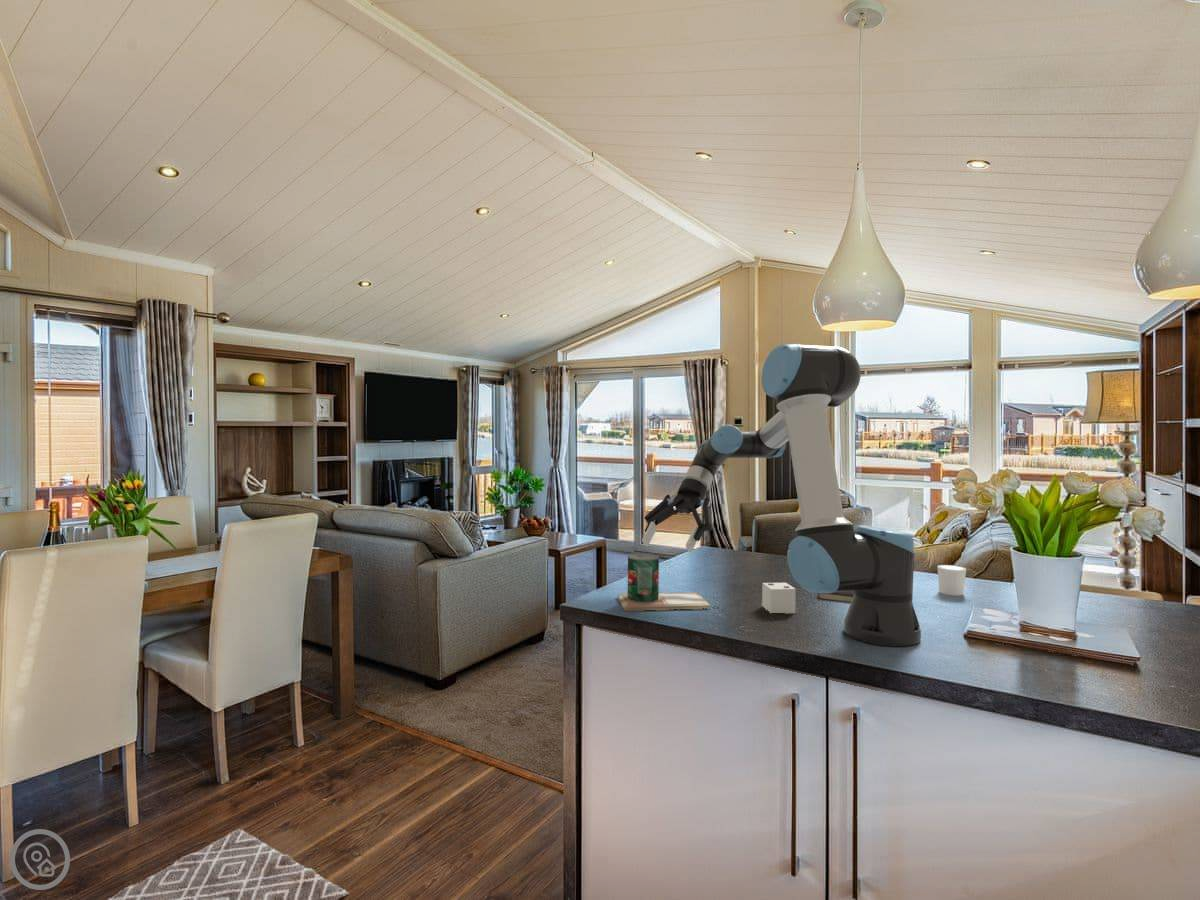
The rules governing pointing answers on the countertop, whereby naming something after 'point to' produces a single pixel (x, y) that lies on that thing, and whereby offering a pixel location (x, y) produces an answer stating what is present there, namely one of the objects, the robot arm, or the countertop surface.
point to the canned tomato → (643, 578)
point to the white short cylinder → (951, 579)
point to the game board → (667, 602)
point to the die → (778, 597)
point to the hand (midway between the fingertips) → (666, 546)
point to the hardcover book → (838, 595)
